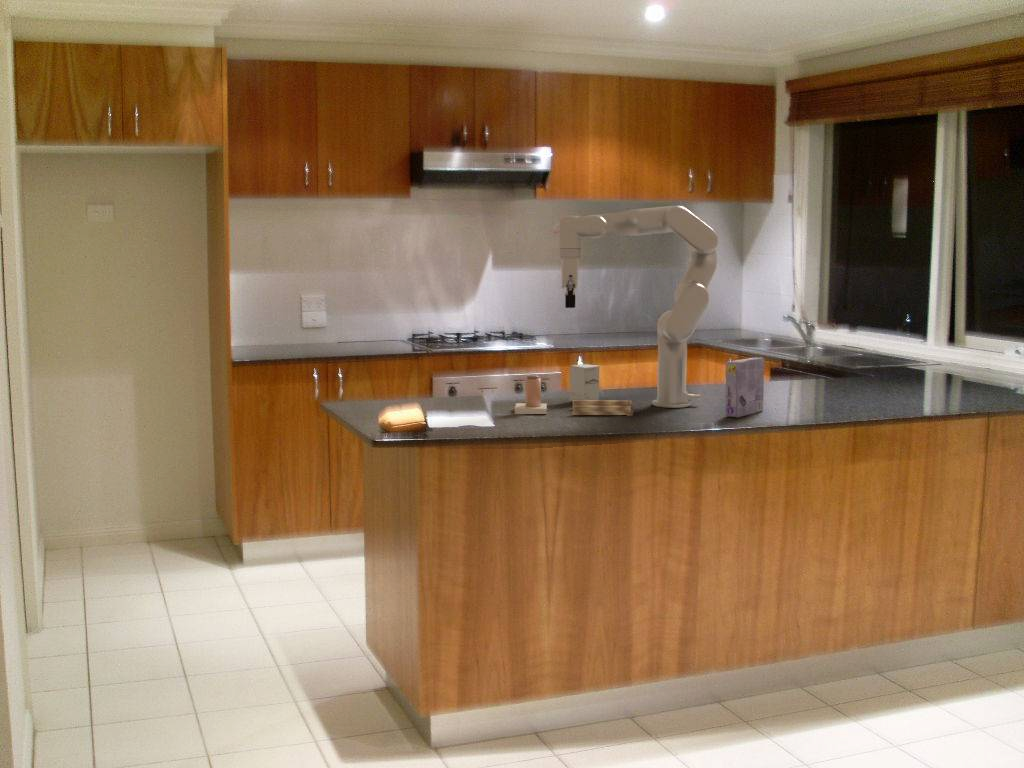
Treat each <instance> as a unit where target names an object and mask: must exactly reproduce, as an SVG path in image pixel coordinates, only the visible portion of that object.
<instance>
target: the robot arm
mask: <svg viewBox="0 0 1024 768" xmlns="http://www.w3.org/2000/svg"><path fill="white" fill-rule="evenodd" d="M558 222H559V224H558V226H559V227H558V230H559V231H558V245H559V246H558V256H559V257H558V259H560V260H562V261H561V289H562V290H564V289H566V290H565V291H566V292H565V293H564V294H565V295H564V296H565V297H564V298H565V300H564V301H565V303H564V305H565V308H567V309H570V308H571V309H575V308H576V291H575V290H576V289H577V288H578V280H579V259H583V238H590V239H599V238H602V237H614V236H629V237H630V236H631V237H632V236H633V237H634V236H645V235H656V234H665V233H674V234H675V235H676V236H678V237H679V238H680V239H681V240H683V241H684V242H685V243H686V246H687V248H688V250H689V251H690V252H689V253H690V262H689V265H688V268H687V269H686V272H685V273H684V275H683V277H682V279H681V281H680V283H679V284H678V286H677V288H676V289H675V292H674V301H675V305H674V306H673V308H672V310H671V309H670V310H668V311H665V312H663V313H662V314H661V315H660V317H659V318H658V320H657V326H656V334H657V387H656V388H657V390H656V393H657V394H656V395H657V396H656V399H653V400H652V403H651V404H652V405H653V406H654V407H659V408H667V409H668V408H669V409H670V408H671V409H672V408H673V409H674V408H675V409H676V408H677V409H678V408H687V407H690V406H691V401H701V394H695V393H692V394H691V393H688V391H687V363H688V362H687V359H688V343H687V341H688V340H689V339H690V338H691V337H692V335H693V334H694V332H695V330H696V328H697V326H698V325H699V323H700V321H701V319H702V317H703V315H704V314H705V311H706V309H707V308H708V305H709V300H710V294H709V291H708V287H709V285H710V284H711V281H712V279H713V277H714V274H715V272H716V269H717V265H718V256H717V247H718V244H719V237H718V234H717V232H716V231H715V230H714V228H712V227H710V226H709V225H708V224H707V223H705V222H704V221H703V220H701V219H700V218H699V217H698V216H696V215H695V214H694V213H693V212H691V211H690V210H689V209H687V208H686V207H685V206H682V205H668V206H667V205H666V206H658V207H657V206H656V207H645V208H636V209H634V208H633V209H629V210H625V211H618V212H610V213H601V214H590V215H586V216H585V215H584V216H581V215H562V216H561V217H560V218H559V220H558Z"/></svg>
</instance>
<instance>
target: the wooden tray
mask: <svg viewBox="0 0 1024 768" xmlns="http://www.w3.org/2000/svg"><path fill="white" fill-rule="evenodd" d="M573 415H627V416H626V417H634V405H633V402H632V400H614V399H613V400H611V399H609V400H606V399H605V400H601V399H599V400H573V402H572V416H573Z"/></svg>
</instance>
